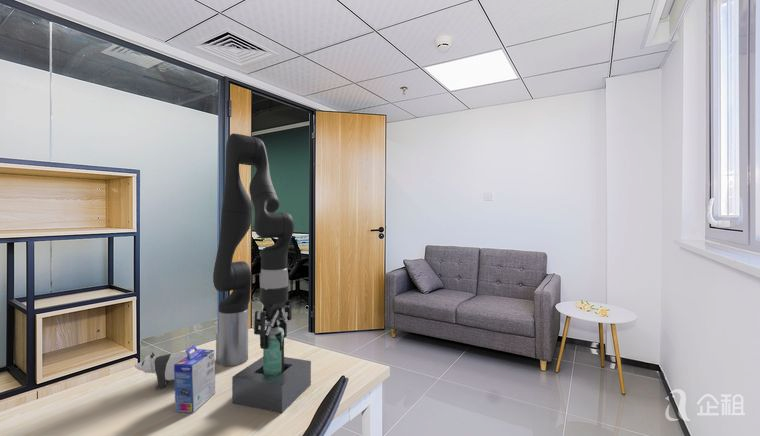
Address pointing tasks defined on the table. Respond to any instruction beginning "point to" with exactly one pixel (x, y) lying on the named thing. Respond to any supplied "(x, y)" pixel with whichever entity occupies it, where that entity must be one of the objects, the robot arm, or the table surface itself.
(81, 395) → the table surface
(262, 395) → the square collar
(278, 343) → the spray can
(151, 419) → the table surface
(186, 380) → the ink cartridge box
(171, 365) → the giant panda
